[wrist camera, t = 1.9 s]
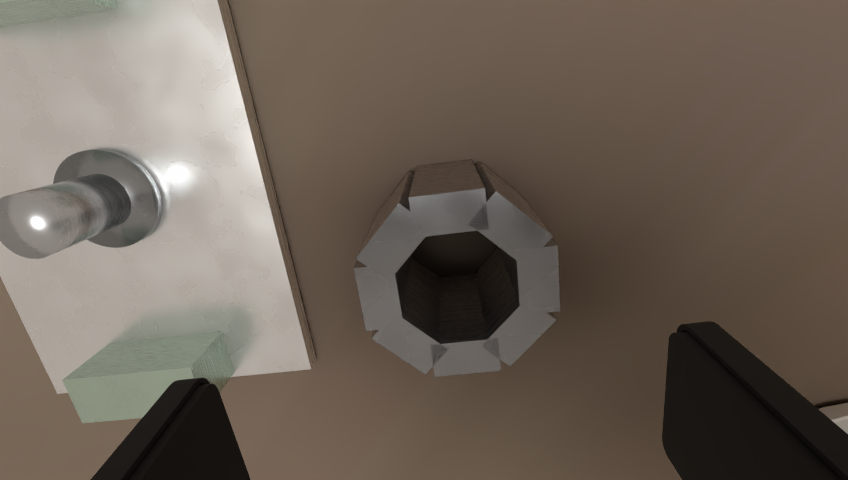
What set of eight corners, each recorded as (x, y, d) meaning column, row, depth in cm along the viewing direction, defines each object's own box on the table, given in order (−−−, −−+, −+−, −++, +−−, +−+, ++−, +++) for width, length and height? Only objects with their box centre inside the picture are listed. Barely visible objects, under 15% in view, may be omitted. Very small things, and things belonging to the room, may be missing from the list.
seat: (316, 357, 24) (281, 434, 18) (72, 381, 24) (-26, 461, 19) (208, -80, 17) (107, -153, 12) (-118, -23, 18) (-342, -68, 13)
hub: (529, 293, 22) (562, 364, 16) (391, 307, 22) (376, 382, 17) (521, 153, 20) (555, 179, 14) (368, 172, 20) (341, 206, 14)
